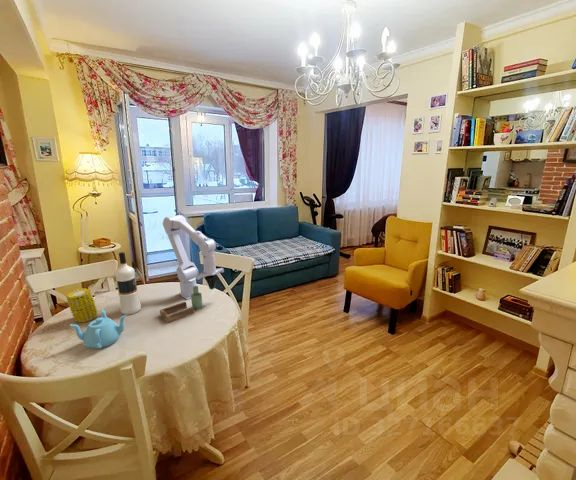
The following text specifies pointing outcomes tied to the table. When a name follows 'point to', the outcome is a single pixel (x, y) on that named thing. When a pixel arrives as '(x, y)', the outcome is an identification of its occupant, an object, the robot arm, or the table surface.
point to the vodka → (127, 287)
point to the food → (82, 305)
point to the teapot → (100, 332)
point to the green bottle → (196, 299)
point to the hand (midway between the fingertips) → (211, 288)
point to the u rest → (175, 308)
